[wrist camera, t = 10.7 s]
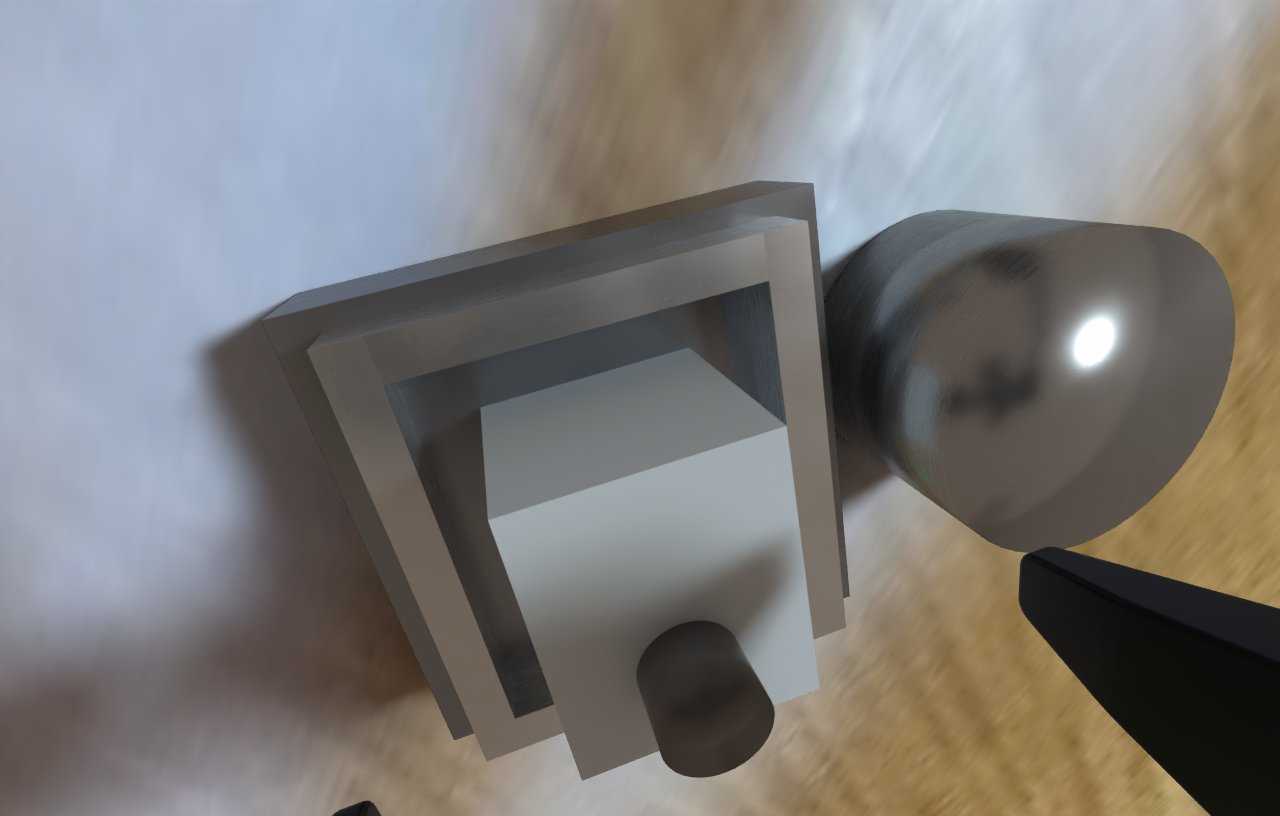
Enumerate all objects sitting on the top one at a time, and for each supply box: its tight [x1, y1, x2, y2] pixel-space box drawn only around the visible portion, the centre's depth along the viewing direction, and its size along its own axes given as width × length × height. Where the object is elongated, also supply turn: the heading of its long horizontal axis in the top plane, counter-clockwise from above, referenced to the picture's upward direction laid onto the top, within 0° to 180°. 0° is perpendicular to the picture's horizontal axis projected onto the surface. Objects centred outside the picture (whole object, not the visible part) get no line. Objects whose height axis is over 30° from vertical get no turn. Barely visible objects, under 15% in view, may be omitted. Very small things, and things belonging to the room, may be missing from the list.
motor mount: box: [261, 181, 1235, 761], centre depth 16 cm, size 21×12×6 cm, turn 102°
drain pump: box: [480, 348, 820, 781], centre depth 13 cm, size 5×6×6 cm
